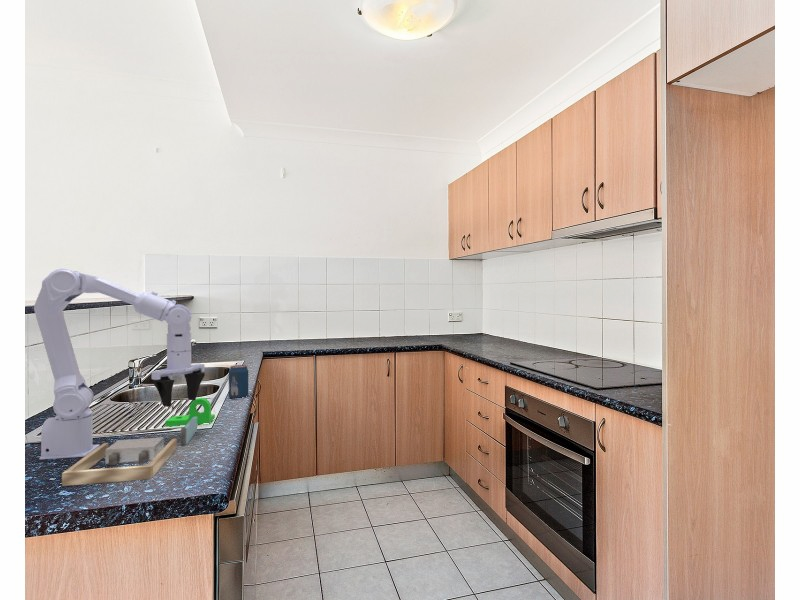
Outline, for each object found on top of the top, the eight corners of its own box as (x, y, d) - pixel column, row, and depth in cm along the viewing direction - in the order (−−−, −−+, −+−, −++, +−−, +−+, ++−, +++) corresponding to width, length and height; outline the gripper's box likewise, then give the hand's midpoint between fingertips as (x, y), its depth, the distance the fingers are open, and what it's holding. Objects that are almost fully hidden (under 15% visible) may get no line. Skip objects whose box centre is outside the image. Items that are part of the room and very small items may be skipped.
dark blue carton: (247, 395, 171) (247, 364, 171) (249, 399, 164) (249, 366, 165) (227, 397, 168) (227, 365, 168) (229, 401, 162) (229, 368, 162)
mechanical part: (214, 420, 136) (214, 394, 136) (208, 426, 130) (208, 398, 130) (173, 422, 134) (173, 395, 134) (165, 427, 128) (165, 400, 128)
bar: (182, 444, 112) (182, 428, 112) (193, 431, 124) (193, 416, 124) (186, 444, 113) (186, 428, 113) (197, 430, 124) (197, 416, 124)
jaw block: (105, 465, 99) (105, 449, 99) (118, 454, 106) (118, 440, 106) (154, 461, 101) (154, 446, 101) (163, 451, 108) (163, 437, 108)
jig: (61, 486, 87) (62, 463, 87) (108, 450, 108) (108, 431, 108) (159, 478, 91) (159, 456, 91) (185, 445, 112) (186, 427, 112)
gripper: (165, 354, 108) (165, 410, 108) (212, 348, 122) (213, 398, 122) (145, 353, 111) (146, 407, 111) (193, 347, 124) (194, 396, 124)
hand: (179, 402), depth 117 cm, fingers open, 7 cm apart
